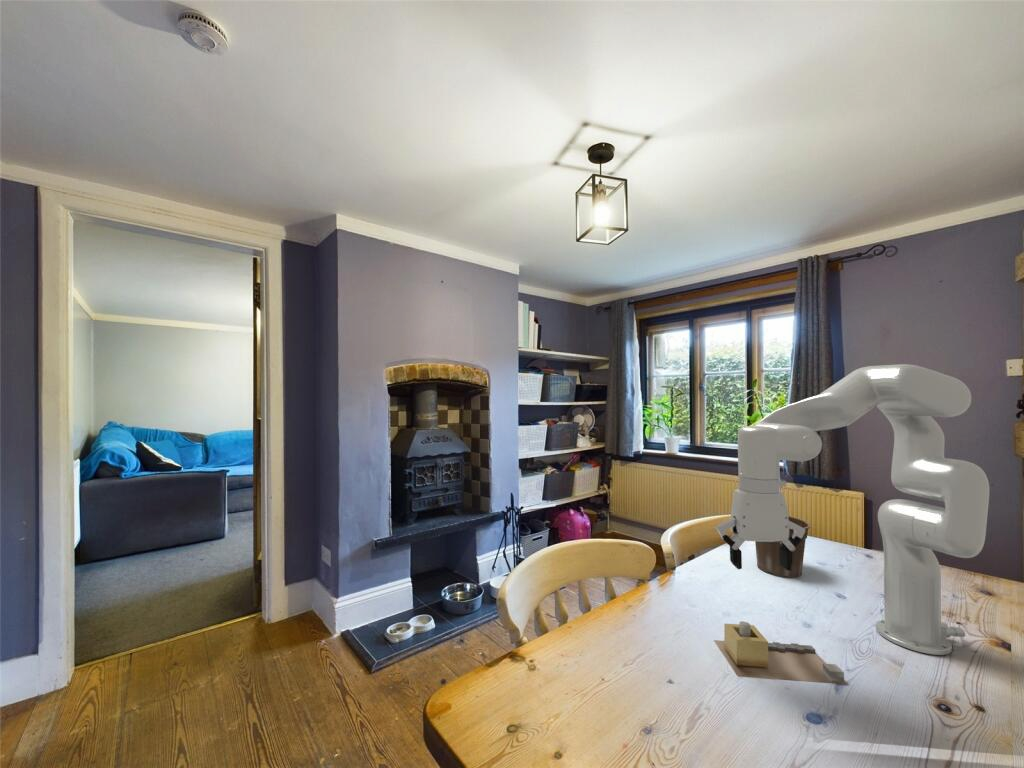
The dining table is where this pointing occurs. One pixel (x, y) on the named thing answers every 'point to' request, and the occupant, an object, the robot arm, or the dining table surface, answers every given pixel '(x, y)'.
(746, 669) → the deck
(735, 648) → the end link
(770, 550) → the plant pot
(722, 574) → the dining table surface
